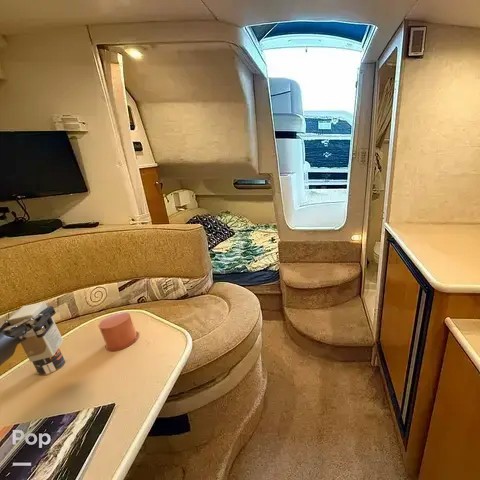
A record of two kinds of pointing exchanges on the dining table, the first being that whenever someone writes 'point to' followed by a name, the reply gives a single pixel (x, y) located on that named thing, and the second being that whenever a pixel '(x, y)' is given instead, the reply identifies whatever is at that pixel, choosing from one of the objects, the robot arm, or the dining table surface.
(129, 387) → the dining table surface
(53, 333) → the cosmetic box
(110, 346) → the upturned cup
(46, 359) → the pill bottle
